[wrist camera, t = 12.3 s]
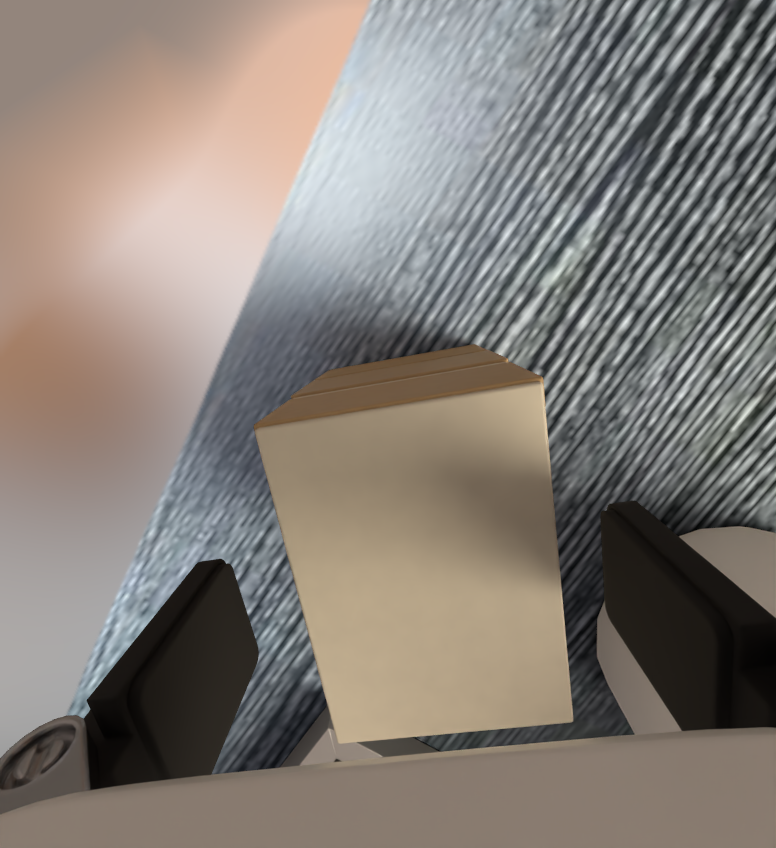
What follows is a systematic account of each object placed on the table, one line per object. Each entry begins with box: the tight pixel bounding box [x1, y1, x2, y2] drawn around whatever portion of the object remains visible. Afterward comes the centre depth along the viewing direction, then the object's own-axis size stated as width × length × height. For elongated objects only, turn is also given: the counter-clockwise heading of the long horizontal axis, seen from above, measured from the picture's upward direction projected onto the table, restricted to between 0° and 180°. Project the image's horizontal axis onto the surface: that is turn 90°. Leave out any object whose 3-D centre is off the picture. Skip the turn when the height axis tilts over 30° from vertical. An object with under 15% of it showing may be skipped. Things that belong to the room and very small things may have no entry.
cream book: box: [254, 362, 573, 744], centre depth 13 cm, size 10×7×4 cm
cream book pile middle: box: [291, 350, 508, 399], centre depth 16 cm, size 10×7×4 cm
